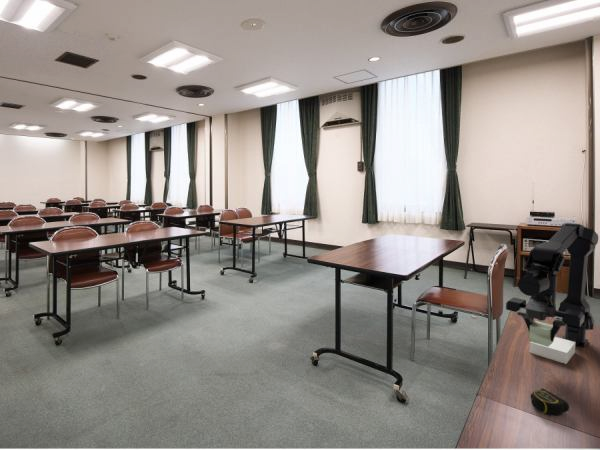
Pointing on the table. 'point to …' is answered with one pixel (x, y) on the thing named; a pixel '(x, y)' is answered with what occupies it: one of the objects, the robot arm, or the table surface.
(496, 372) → the table surface
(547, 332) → the green cube
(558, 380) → the table surface
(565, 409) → the tape measure
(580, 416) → the table surface
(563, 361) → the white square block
